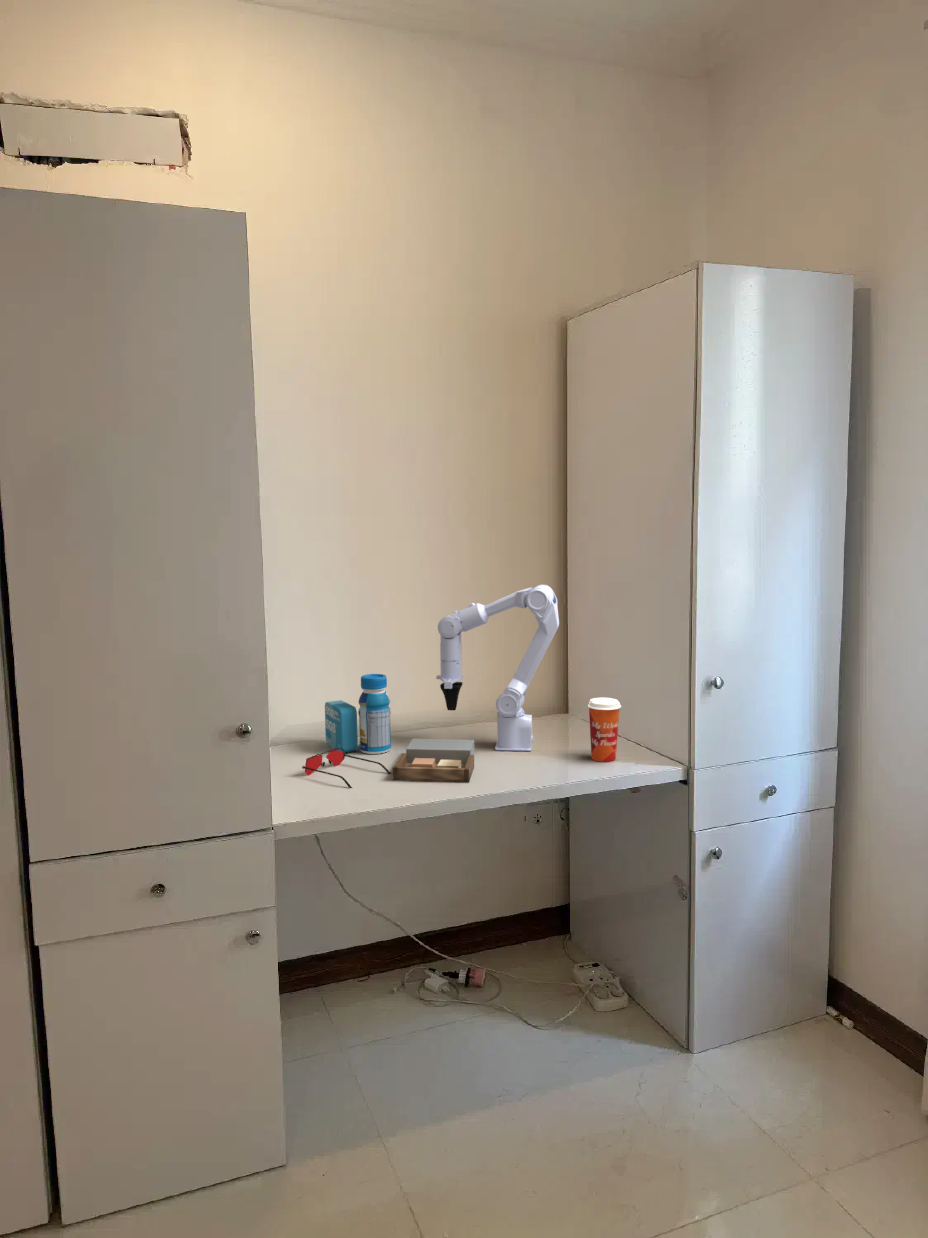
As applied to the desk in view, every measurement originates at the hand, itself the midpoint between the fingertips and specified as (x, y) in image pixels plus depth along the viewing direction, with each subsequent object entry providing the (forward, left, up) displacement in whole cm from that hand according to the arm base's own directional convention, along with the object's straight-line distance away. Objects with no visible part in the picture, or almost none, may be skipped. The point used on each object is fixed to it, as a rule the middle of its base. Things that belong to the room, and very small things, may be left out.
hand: (451, 709), depth 236 cm
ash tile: (-3, +26, -7) cm, 27 cm away
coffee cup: (-40, +11, -10) cm, 43 cm away
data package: (+29, +6, -10) cm, 31 cm away
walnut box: (+1, +27, -9) cm, 28 cm away
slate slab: (+1, +15, -9) cm, 18 cm away
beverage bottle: (+19, +8, -10) cm, 23 cm away
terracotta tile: (+4, +25, -7) cm, 26 cm away
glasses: (+22, +29, -10) cm, 38 cm away
